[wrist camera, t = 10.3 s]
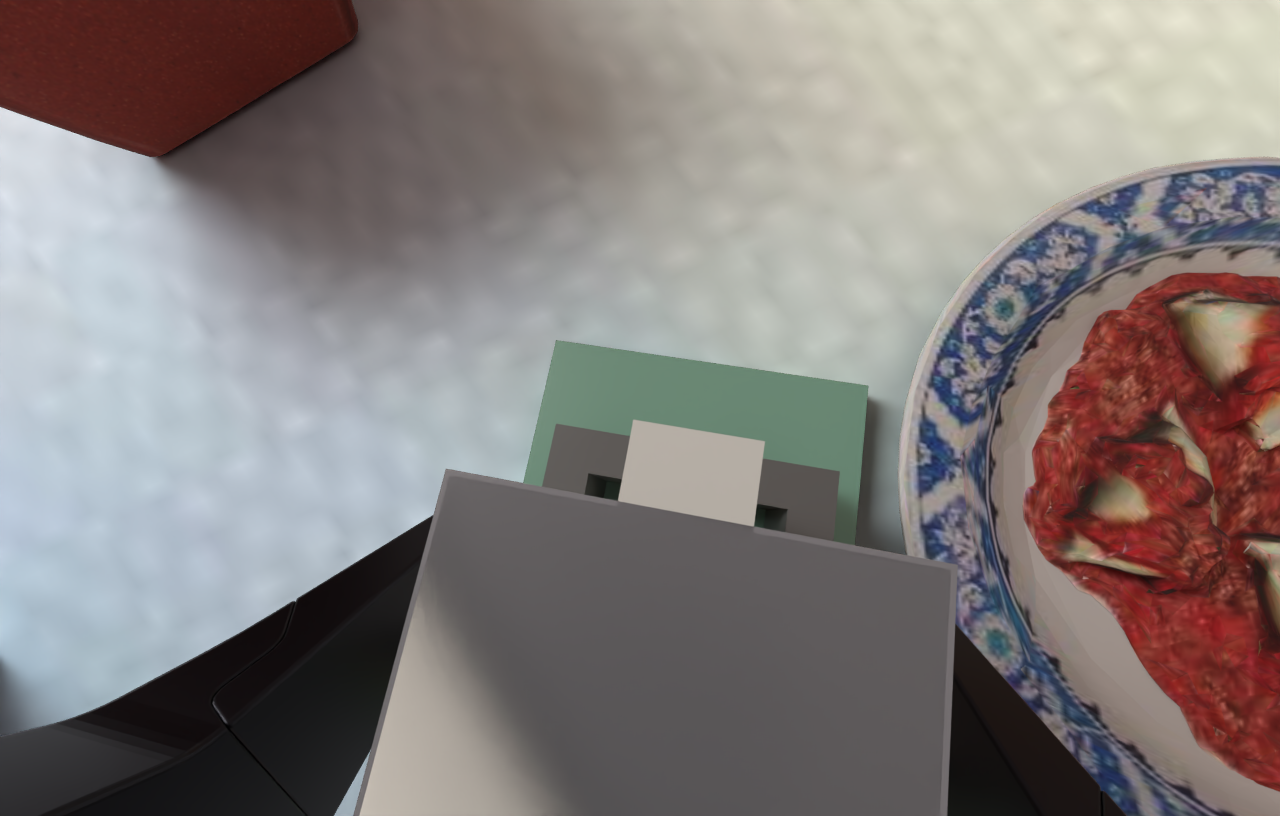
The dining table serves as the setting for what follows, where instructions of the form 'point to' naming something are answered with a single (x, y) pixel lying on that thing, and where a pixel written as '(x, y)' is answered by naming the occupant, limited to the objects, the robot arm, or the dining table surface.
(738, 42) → the dining table surface
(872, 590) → the keyed plug
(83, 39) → the plant pot
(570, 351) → the header board
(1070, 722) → the ceramic plate
